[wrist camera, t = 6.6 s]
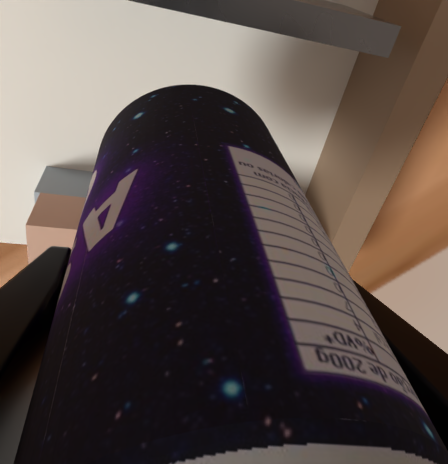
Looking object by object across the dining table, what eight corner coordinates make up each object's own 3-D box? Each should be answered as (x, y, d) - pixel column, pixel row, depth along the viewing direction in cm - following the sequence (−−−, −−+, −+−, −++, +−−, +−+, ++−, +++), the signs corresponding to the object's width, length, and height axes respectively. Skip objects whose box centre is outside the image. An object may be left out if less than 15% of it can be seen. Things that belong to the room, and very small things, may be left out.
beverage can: (119, 48, 11) (-87, 666, 2) (297, 106, 13) (680, 584, 3) (88, 212, 14) (-52, 771, 5) (236, 242, 16) (352, 700, 6)
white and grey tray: (297, 255, 27) (324, 318, 23) (1, 229, 23) (-36, 300, 18) (407, -21, 18) (490, -7, 14) (-42, -145, 14) (-135, -183, 10)
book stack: (271, 258, 25) (292, 318, 21) (49, 239, 22) (25, 305, 18) (293, 196, 23) (322, 252, 19) (46, 165, 20) (18, 224, 16)
